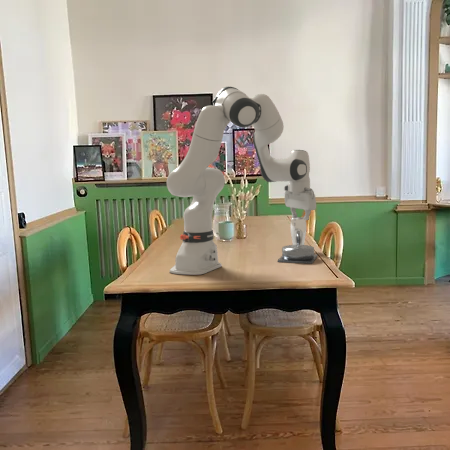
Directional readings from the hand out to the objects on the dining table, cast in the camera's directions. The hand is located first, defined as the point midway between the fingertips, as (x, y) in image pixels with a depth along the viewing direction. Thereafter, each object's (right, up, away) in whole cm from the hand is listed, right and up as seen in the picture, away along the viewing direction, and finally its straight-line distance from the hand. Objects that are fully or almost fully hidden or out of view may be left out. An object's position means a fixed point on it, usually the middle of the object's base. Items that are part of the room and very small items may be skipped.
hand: (300, 218), depth 214 cm
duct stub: (-3, -17, -13) cm, 21 cm away
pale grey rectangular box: (0, -15, +3) cm, 15 cm away
